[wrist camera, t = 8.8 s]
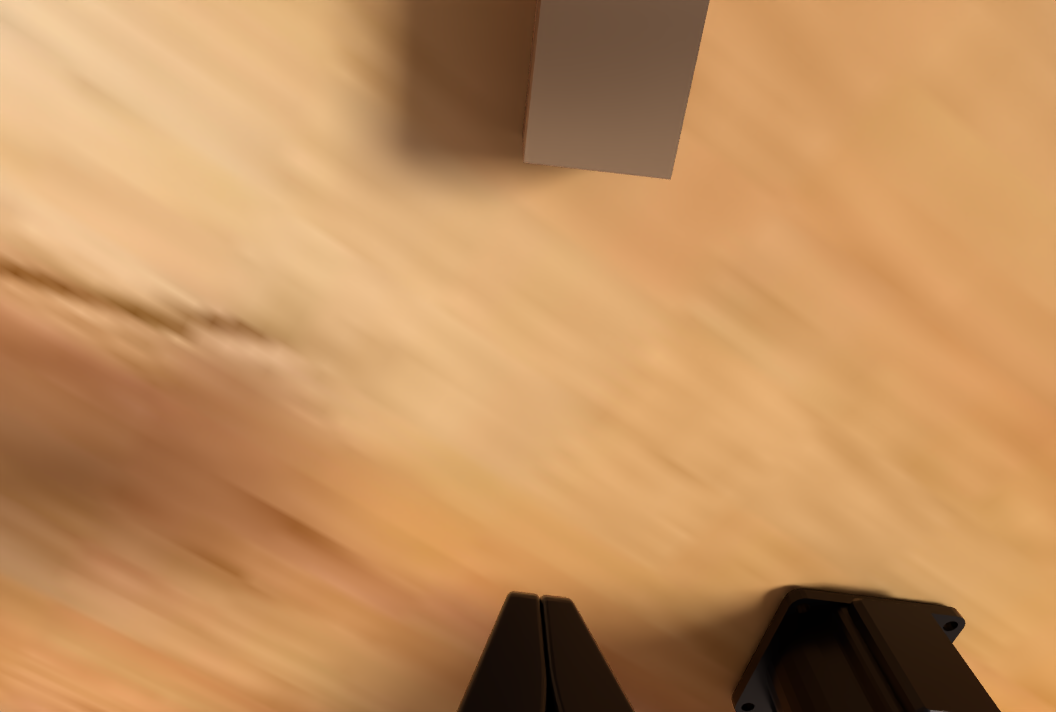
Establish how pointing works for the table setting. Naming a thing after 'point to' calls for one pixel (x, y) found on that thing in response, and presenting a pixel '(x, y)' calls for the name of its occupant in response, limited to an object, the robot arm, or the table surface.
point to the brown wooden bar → (611, 83)
